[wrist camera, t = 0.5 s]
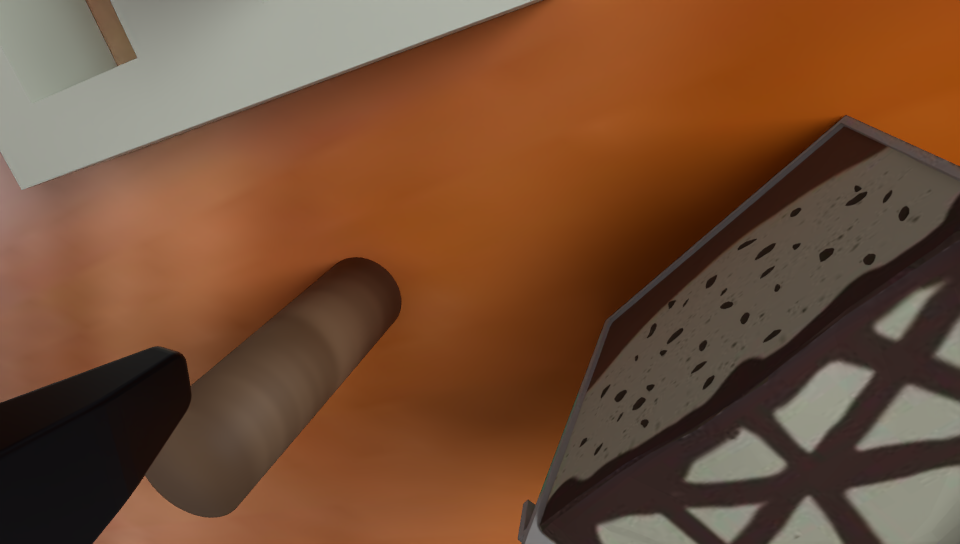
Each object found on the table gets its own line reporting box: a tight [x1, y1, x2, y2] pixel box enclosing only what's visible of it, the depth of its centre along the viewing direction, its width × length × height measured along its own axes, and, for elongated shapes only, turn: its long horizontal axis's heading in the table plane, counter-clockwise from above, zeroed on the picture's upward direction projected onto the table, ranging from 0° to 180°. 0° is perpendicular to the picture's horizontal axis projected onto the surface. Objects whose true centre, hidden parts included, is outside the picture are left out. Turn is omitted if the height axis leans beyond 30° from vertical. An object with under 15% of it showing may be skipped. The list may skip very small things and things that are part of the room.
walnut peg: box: [145, 257, 401, 518], centre depth 22 cm, size 3×3×10 cm
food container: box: [518, 115, 960, 544], centre depth 17 cm, size 12×6×10 cm, turn 141°
